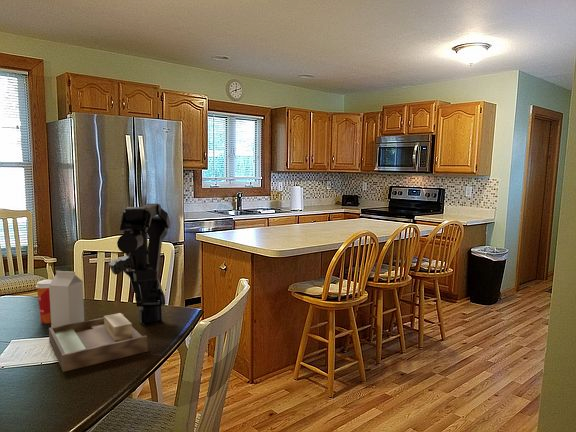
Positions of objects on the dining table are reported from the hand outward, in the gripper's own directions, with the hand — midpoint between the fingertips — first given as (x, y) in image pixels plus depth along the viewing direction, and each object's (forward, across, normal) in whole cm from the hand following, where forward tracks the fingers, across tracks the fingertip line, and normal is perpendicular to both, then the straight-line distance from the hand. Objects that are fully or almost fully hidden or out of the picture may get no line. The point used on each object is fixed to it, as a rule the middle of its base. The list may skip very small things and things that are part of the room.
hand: (139, 296), depth 134 cm
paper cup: (+13, -32, -22) cm, 41 cm away
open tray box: (+13, +1, -13) cm, 18 cm away
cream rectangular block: (+10, +1, -7) cm, 12 cm away
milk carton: (+13, -22, -18) cm, 31 cm away
